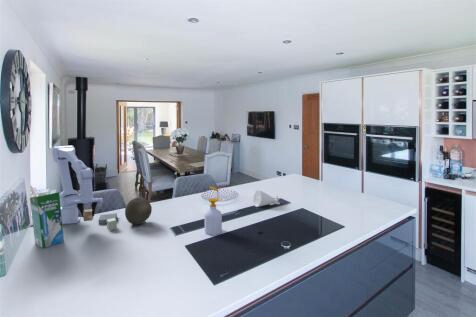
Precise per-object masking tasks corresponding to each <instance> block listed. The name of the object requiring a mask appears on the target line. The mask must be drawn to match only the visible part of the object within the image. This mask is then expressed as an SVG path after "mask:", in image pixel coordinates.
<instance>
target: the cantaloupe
mask: <svg viewBox="0 0 476 317" xmlns="http://www.w3.org/2000/svg"><path fill="white" fill-rule="evenodd" d="M152 209H153V208H152V205H151V203H150V202H149V200H148V199H146V198H144V197H135V198H133V199H130V200H129V201H128V202H127V204H126V206H125V209H124V216H125V219H126V221H127V222H128V223H129V224H131V225H133V226H139V225H142V224H143V223H146V222H145V221H148V219H149V217H150V216H151V214H152Z"/></svg>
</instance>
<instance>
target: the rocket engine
mask: <svg viewBox="0 0 476 317" xmlns="http://www.w3.org/2000/svg"><path fill="white" fill-rule="evenodd" d="M278 196H279V195H277V194H276V195H275V196H272V195H270V194H268V193H266V192H264V191H262V190H260V189H257V190H256V191H255V192H254V194H253V200H252V201H253V205H254V207H257V208H258V207H263V206H268V205H269V206H273V205H281V202H280V201H279V200H280V197H278Z"/></svg>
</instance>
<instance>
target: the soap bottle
mask: <svg viewBox="0 0 476 317" xmlns="http://www.w3.org/2000/svg"><path fill="white" fill-rule="evenodd" d="M209 189H210V190H213V191H216V193H217V194H219V189H218V188H217V187H214V186H211V185H210V186H209ZM208 202H209V203H210V204H209V209H207V210H206V211H205V212H204V213H203V214H204V218H203V219H204V233H205V234H206V235H209V236H217V235H220V234H221V233H222V231H223V221H222V220H223V219H222V218H223V216H222V212H221V210H219V209H218V208H217V204H216V202H219V196H217V197H216V198H208Z"/></svg>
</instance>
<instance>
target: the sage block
mask: <svg viewBox="0 0 476 317" xmlns="http://www.w3.org/2000/svg"><path fill="white" fill-rule="evenodd" d="M106 221H107V224H106V229H107V230H108V231H109V230H110V231H113V229H114V230H117V229H118V224H117V223H118V222H117V220H116V219H115V218H112V219H107V220H106Z"/></svg>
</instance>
